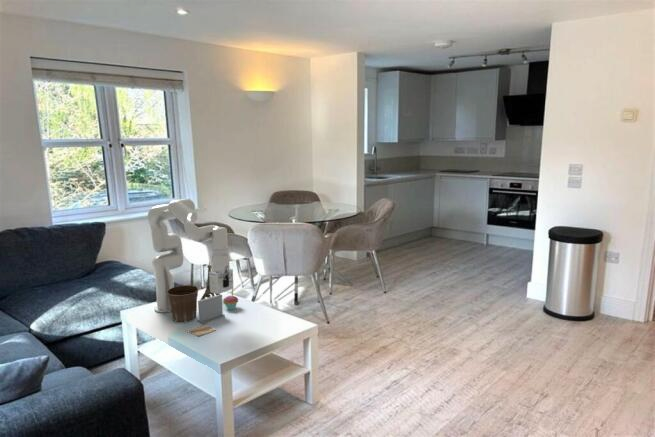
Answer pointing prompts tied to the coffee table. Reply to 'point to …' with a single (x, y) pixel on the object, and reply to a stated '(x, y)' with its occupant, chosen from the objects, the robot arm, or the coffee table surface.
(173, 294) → the plant pot
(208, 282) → the eiffel tower
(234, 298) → the cupcake
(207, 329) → the coaster
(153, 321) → the coffee table surface
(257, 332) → the coffee table surface
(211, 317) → the screen
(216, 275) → the light bulb box
